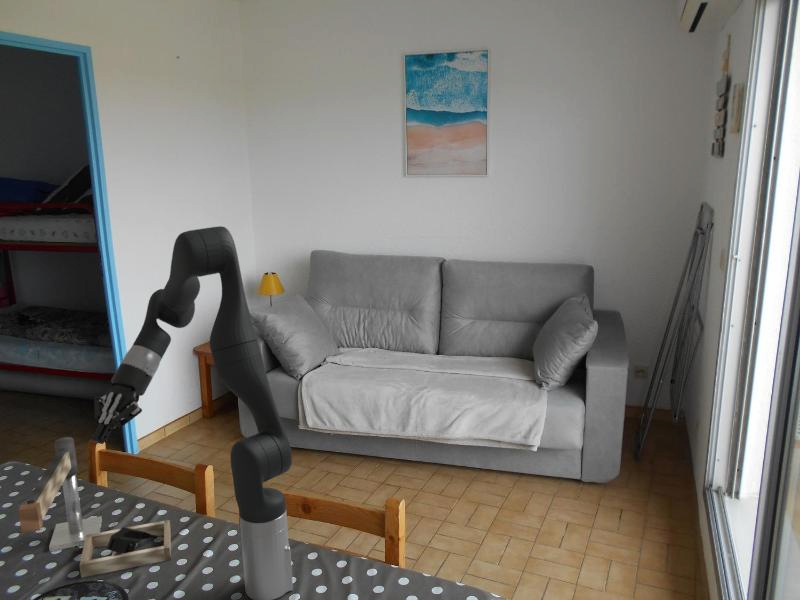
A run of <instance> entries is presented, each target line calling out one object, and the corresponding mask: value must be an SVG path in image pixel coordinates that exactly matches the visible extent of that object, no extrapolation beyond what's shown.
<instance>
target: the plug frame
mask: <svg viewBox="0 0 800 600" xmlns="http://www.w3.org/2000/svg"><path fill="white" fill-rule="evenodd" d="M126 528H131V529H136V530H140V531H143V532H147V533H150V535H156V536H157V537H160V536H163V545H161V546H156V547H150V548H145V549H141V550H140V549H139V550H134V552H129V553H124V554H121V553H118V554H116V555H113V556H112V555H109V556H108V555H107V556H104V557H99V558H98V557H97V558H93V559H92V557H93V551H94V548H93V547H98V548H103V547H107V545H108V543H109V540H110V538H111V536H112V535H114V534H115V533H117V532H118V531H119V530H121V528H117V529H111V530H107V531H100V533H94V534H89V535H86V539H85V543H84V545H83V549H82V552H81V557H80V561H79V571H80V576H81V577H80V578H86V577H92V576H97V575H102V574H107V573H112V572H117V571H123V570H126V569H131V568H136V567H141V566H147V565H151V564H155V563H161V562H166V561H171V560H172V536H171V535H172V529H171V520H170V519H167V520H160V521H156V522H151V523H144V524H139V525H138V524H137V525H134V526H133V525H132V526H127V527H126ZM141 540H142V539H137V541H141ZM92 550H93V551H92Z"/></svg>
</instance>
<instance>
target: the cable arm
mask: <svg viewBox="0 0 800 600" xmlns="http://www.w3.org/2000/svg"><path fill="white" fill-rule="evenodd" d="M53 445H54V452H55V456H54V457H53V459H52V460H51V461H50V463H49V465H48V466H47V468H46V469H45V471H44V473H43V474H42V476H41V478H39V481H38V482H37V484H36V486H35V487H34V488H33V490H32V492H31V494H30V495H29V496H28V499H27V500H26V503H23V504H21V505H20V506H19V508H18V509H17V512H18V518H19V524H20V532H21V534H24V533H31V532H39V531H41V529H42V528H43V526H44V522H43V520H44V518H45V517H46V515H47V513H48V511H49V509H50V508H51V506H52V503H53V501H54V500H55V498H56V496H57V495H58V493H59V491H60V489H61V487H62V486H63V485H62V483H63V482H64V480H65V478H66V477H70V476H73V475H75V474H76V475H77V473H79V469H78V462H77V455H76V454H77V453H76V447H75V440H74V437H70V436H69V437H68V436H67V437H60V438H58V439H56V440H55V441H54V442H53Z"/></svg>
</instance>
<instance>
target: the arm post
mask: <svg viewBox="0 0 800 600" xmlns="http://www.w3.org/2000/svg"><path fill="white" fill-rule="evenodd" d="M61 486H62V490H63V498H64V504H65V511H66V512H65V513H66V518H67V522H66V521H65V522H60V523H55V528H54V530H53V533H52V536H51V540H50V543H49V547H48V548H49V552H55V551H59V550H60V551H61V550H66V549H71V548H76V547H75V546H77V547H80V546H79V545H82V546H84V543H85V539H86V535H89V534H94V533H100V532H101V529H100V528H102V524H101V523H103V519H102V515H100V516H94V517H93V516H92V517H88V518H83V517H82V509H81V503H80V496H79V495H80V493H79V487H78V480H77V473H76V474H75V475H73V476H70V477H66V478H65V480H64V482H63V483H62V485H61Z"/></svg>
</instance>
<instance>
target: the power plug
mask: <svg viewBox="0 0 800 600" xmlns="http://www.w3.org/2000/svg"><path fill="white" fill-rule="evenodd" d="M120 529H121V530H119V531H118V532H117V533H115V534H114V535H112V536H111V538H110V540H109V543H108V545H107V546H106V549H107V550H109V551H112V552H111V553H112V554H111V556H113V555H117V554H124V553H129V552H134V551H135V549H136V546H137V543H138V540H137V539H141V540H148V539H158V536H156V535H150V533H147V532H143V531H140V530H136V529H131V528H127V527H125V526H124V527H123V526H122V527H120Z"/></svg>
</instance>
